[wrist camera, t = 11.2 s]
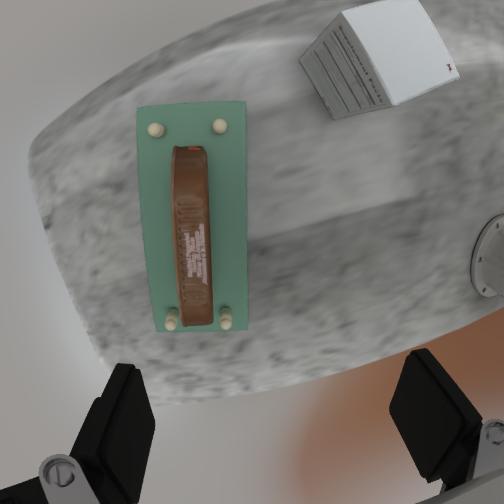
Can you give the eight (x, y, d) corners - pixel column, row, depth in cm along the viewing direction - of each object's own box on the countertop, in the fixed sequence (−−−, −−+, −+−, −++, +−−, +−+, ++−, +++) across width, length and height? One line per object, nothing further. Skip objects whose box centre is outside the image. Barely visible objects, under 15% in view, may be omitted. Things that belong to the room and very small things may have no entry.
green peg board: (244, 103, 27) (248, 94, 22) (247, 322, 34) (250, 346, 30) (141, 109, 26) (126, 103, 22) (158, 324, 33) (151, 348, 29)
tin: (178, 146, 26) (159, 144, 18) (213, 145, 27) (208, 142, 19) (186, 299, 31) (175, 347, 23) (217, 298, 31) (215, 347, 23)
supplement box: (354, 37, 25) (416, -8, 13) (386, 97, 27) (464, 79, 16) (295, 59, 26) (338, 8, 14) (331, 122, 28) (395, 108, 16)
